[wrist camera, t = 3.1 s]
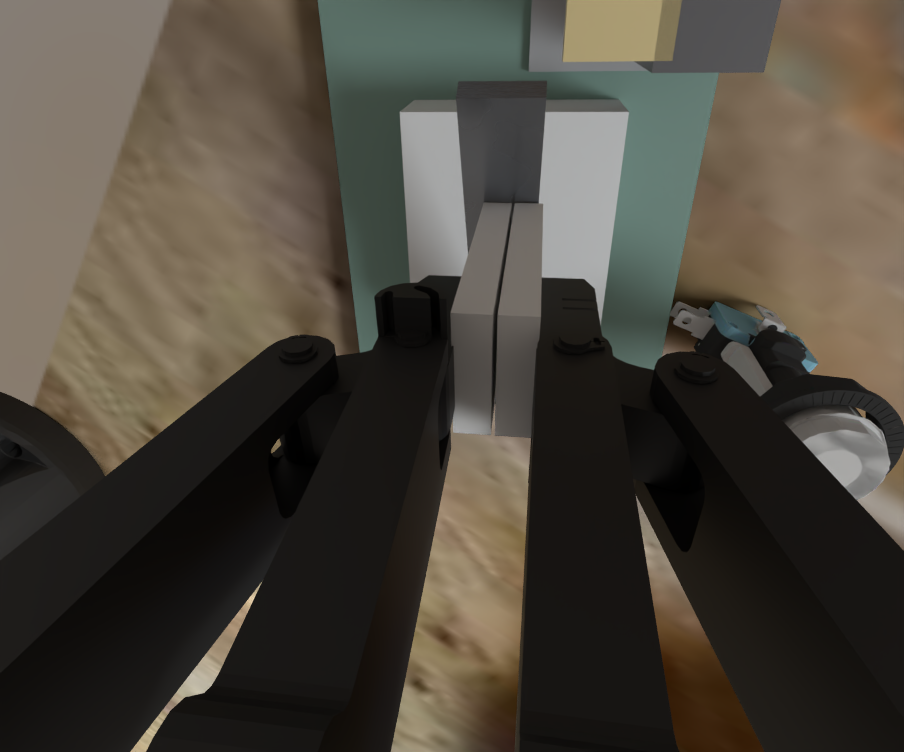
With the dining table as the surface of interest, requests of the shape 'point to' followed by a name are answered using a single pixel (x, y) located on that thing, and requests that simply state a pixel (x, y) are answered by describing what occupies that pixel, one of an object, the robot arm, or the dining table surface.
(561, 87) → the board
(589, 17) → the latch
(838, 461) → the push button
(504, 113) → the strap
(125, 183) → the dining table surface
